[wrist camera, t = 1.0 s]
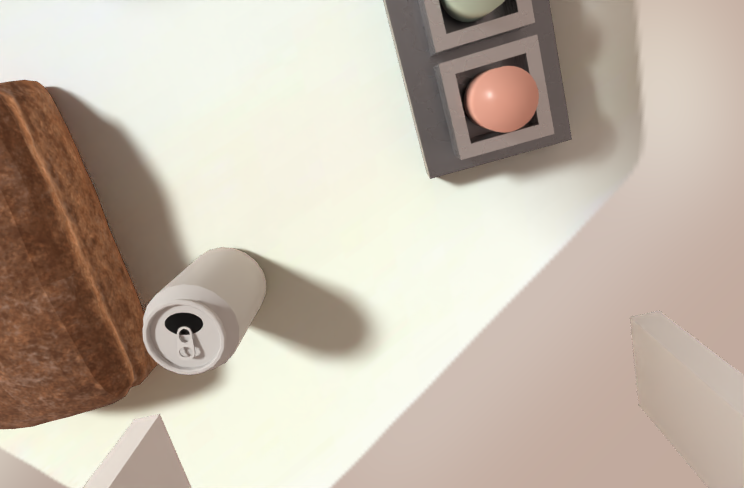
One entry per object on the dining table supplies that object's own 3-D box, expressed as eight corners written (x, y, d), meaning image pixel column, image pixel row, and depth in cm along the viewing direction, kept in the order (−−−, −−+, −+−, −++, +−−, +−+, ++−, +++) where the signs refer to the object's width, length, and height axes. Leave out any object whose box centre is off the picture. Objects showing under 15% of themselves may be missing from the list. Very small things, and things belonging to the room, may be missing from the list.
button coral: (457, 78, 37) (468, 76, 33) (514, 62, 37) (532, 57, 33) (470, 135, 38) (481, 140, 34) (525, 119, 38) (543, 122, 34)
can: (263, 242, 46) (225, 290, 35) (273, 314, 48) (239, 382, 37) (186, 246, 46) (122, 295, 35) (198, 317, 49) (142, 386, 37)
